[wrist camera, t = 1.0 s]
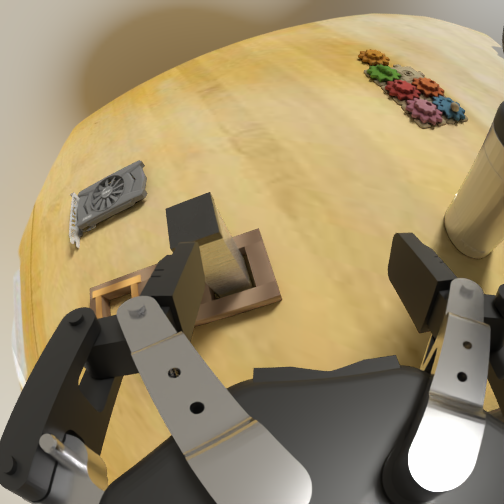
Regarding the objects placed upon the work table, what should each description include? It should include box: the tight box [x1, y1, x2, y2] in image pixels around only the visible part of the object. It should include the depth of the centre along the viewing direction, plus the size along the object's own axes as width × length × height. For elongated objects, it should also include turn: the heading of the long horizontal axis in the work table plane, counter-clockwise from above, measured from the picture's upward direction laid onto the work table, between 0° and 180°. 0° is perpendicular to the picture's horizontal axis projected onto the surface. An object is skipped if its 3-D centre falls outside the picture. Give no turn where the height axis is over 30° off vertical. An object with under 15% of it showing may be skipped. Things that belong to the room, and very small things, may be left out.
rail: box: [90, 228, 282, 327], centre depth 35 cm, size 26×9×2 cm, turn 105°
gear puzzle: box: [358, 49, 468, 128], centre depth 46 cm, size 31×16×4 cm, turn 15°
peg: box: [166, 192, 252, 298], centre depth 29 cm, size 4×4×14 cm
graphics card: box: [69, 160, 147, 248], centre depth 45 cm, size 17×4×12 cm
